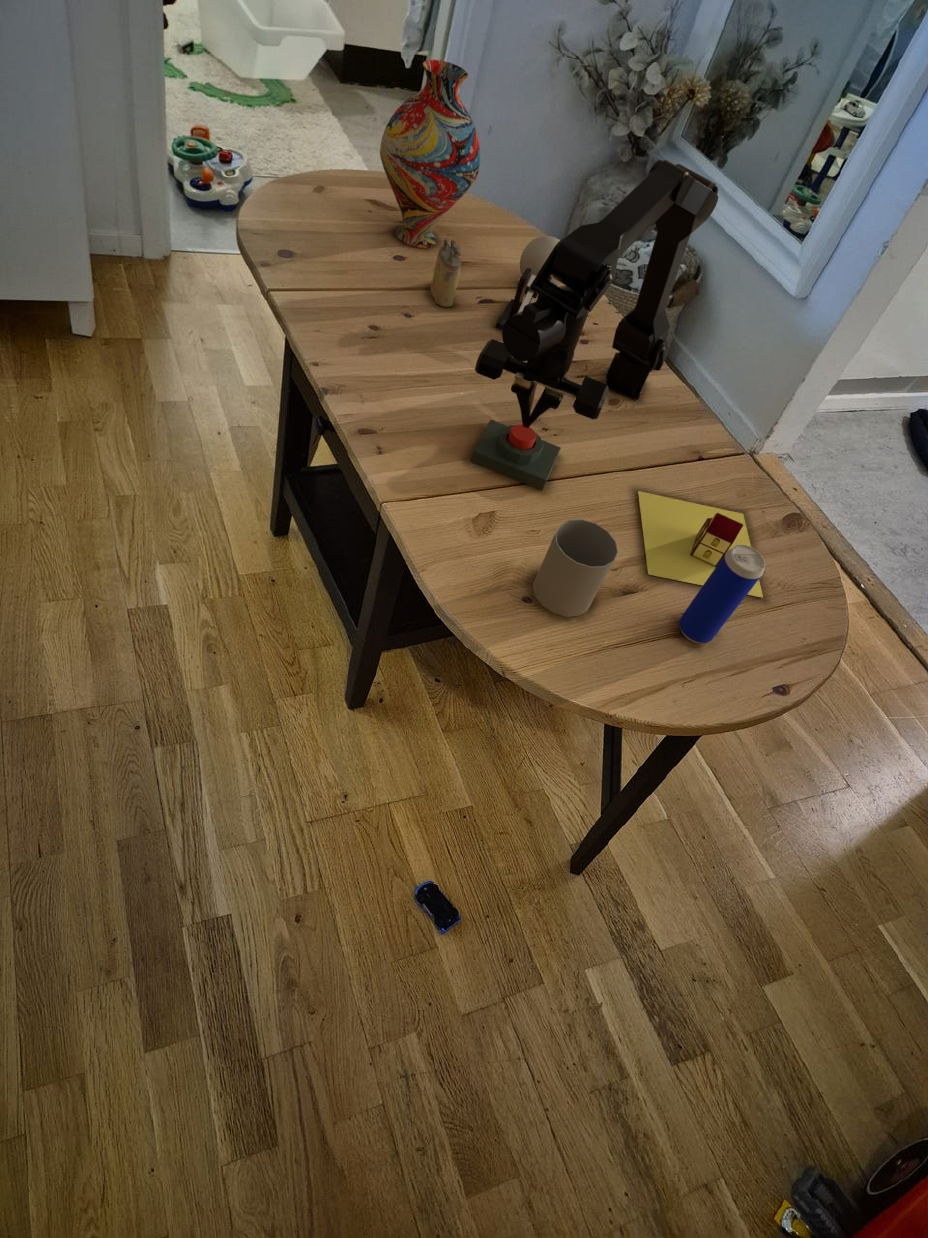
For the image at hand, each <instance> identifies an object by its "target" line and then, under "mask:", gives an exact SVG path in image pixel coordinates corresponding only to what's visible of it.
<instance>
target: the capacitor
mask: <svg viewBox="0 0 928 1238" xmlns="http://www.w3.org/2000/svg"><path fill="white" fill-rule="evenodd" d="M449 241H450V240H449V238H447V237H446V238H444V240H443V246H440V247H439V250H438V253H437V256H436V261H435V265H434V269H433V270H434V271H433V275H432V280H431V285H430V287H429V290H430V292H431V294H430V296H431V298H433V299H434V302H435V303H436V305H438V306H441V307H444V308H450V307H452V306H453V305H454V301H455V297H456V293H457V289H458V283H459V280H460V279H459V278H460V275H461V271H462V269H461V267H462V261H461V259H460V256H461V254H462V253H461V246H460V244H457V241H456V240H455V239H452V240H451V241H450V244H449Z"/></svg>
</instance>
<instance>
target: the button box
mask: <svg viewBox="0 0 928 1238" xmlns="http://www.w3.org/2000/svg"><path fill="white" fill-rule="evenodd" d="M514 425H515V424H509V425H506V424H503V423H501V422H499V421H496V420H494V419H490V420H489V422H488V423H487V425H486V427H485V429H484V430H483V432H482V433H481V435H480V437H479V439H478V441H477V443H476V445H475V447H474V448H473V450H472V453H471V457H470V460H469V462H470V463H473V464H475V465H478V466H479V467H483V468H485V469H487V470H490V471H492V472H495V473H498V474H500V475H502V476H504V477H507V478H509V479H513V480H514V481H517V482H519V483H522V484H524V485H527V486H530V487H531V488H534V489H537V490H539V491H541V492H543V491H544V489H545V486H546V484H547V482H548V479H549V477H550V475H551V472H552V470H553V468H554V465H555V463H556V461H557V459H558V456H559V453H560V451H561V449H562V448H561V447H560V446H558V445H555V444H553V443H550V442H548V441H546V440H543V439H542V437H541V436H540V435H539V434H538V433H537V432H535V433H536V439H535V442H534V444H533V447H532V448H531V449H529V450H520V449H518V448H515V447H513V446H512V445H511V444H510V443H509V441H508V436H509V433H510V430H511V428H512V427H513V426H514Z"/></svg>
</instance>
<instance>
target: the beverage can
mask: <svg viewBox="0 0 928 1238" xmlns="http://www.w3.org/2000/svg"><path fill="white" fill-rule="evenodd" d="M765 568H766V560H765V558H764V557H763V555H762V554H761V552H759V551H758V550H757V549H755V548H754V547H752V546H751V547H750V546H747V545H736V546H734V547H732V548H731V549H729V550H728V551H727V552H726V553H725V555H724V556H723V558H722V559H721V561H720V562H719V563H718V565H717V566H716V568H715V569H714V571H713V572H712V573H711V575H710V576H709V578H708V579H707V581H706V582H705V583H704V585H701V588H700V589H699V590H698V592H697V593H696V595H695V596H694V598H693V599H692V601H691V602H690V603H689V605H688V607H687V608H686V609H685V611H684V612H683V613H682V615H681V616H680V618H679V622H678V625H679V629H680V631H681V633H682V635H683V636H684V637H685V638H686V639H687V640H689V641H690V642H692V643H696V644H707V643H710V642H711V641H712V640H714V638H715V637H716V636H717V634H718V633H719V632H720V630H721V629H722V628H723V627H724V626H725V624H726V623H727V622H728V621H729V618H731V616H732V615H733V613H734V612H735V611H736V610H737V609H738V607H739V606H740V604H741V603H742V602H743V601H744V599H745V598H746V596H747V594H748V593H749V591H750V590H751V589H752V588H753V586H754V585H755V584H756V582H757V581H758V580H759V581H760V579H761V578H762V576H763V575H764V572H765Z"/></svg>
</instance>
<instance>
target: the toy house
mask: <svg viewBox="0 0 928 1238" xmlns="http://www.w3.org/2000/svg"><path fill="white" fill-rule="evenodd" d="M743 527H744V524H743V523H741V522H739V521H737V520H735V519H732V518H730V517H728V516H726V515H724V514H722V513H719V512H716V513H715V514H714V515H713V517H707V518H706V520H705V521H704V523H703V524H702V526H701V527H700V529H699V531H698V532H697V534H696V535H697V536H696V539H695V541H694V543H693V546H692V547H693V548H692V549H691V550H692V551H691V552H690V555H691V556H693V557H695V558H697V559H699V560H702V561H703V562H706V563H708V564H709V565H712V566H715V567H716V566H717V565H718V563H719V562H720V561H721V559H722V558H723V556H724V555H725V553H726V552H727V551H728V550H729V549H731V548H732V545H733V544H734V542H735V541H736V539H737V537H738V535H739V534H740V532H741V530H742V528H743Z"/></svg>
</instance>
